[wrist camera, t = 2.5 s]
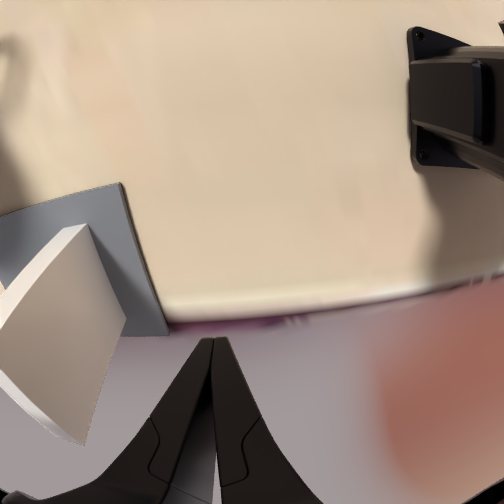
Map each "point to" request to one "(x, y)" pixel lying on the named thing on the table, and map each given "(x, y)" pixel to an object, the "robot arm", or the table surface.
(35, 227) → the mat
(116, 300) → the tile
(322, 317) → the table surface
